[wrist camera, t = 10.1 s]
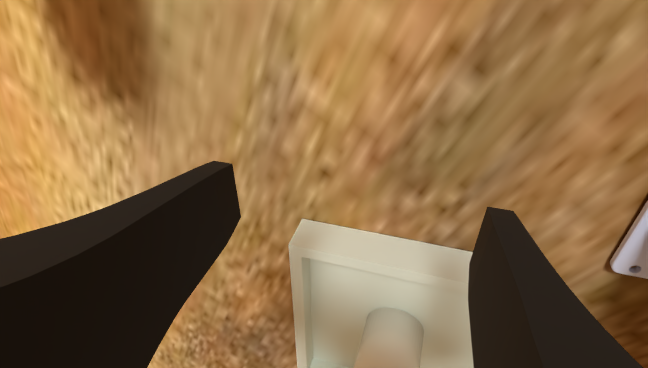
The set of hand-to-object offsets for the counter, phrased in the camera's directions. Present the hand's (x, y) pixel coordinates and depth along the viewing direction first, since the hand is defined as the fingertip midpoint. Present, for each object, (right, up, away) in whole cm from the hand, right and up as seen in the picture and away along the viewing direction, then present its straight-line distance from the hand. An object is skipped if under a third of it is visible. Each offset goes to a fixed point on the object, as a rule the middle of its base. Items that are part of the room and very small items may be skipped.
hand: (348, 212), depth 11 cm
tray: (+5, -9, +16) cm, 19 cm away
